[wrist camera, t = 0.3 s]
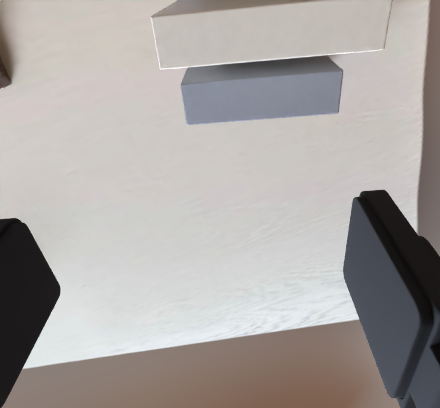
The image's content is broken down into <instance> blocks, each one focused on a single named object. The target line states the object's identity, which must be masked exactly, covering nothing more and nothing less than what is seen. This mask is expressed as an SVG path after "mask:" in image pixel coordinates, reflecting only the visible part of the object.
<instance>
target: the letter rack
mask: <svg viewBox="0 0 440 408" xmlns="http://www.w3.org/2000/svg"><path fill="white" fill-rule="evenodd" d="M10 84H11V82H10V80H9V77H8V75H7V73H6V70H5V68H4V66H3V63H2V61H1V58H0V89H2V88H4V87H6V86H8V85H10Z"/></svg>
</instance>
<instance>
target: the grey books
mask: <svg viewBox="0 0 440 408" xmlns="http://www.w3.org/2000/svg"><path fill="white" fill-rule="evenodd" d="M342 78H343V70H342V69H341V68H340V67H339V66H337V65H336V64H335V63H334V62H333V61H332V60H331V59H329V58H328V57H327V56H326V55H323V56H311V57H300V58H288V59H277V60H266V61H254V62H243V63H232V64H220V65H209V66H197V67H188V68H187V71H186V73H185V75H184V78H183V80H182V83H181V90H182V97H183V103H184V110H185V117H186V123H187V125H194V124H208V123H221V122H234V121H247V120H260V119H273V118H286V117H299V116H312V115H325V114H337V113H338V112H339V104H340V96H341V87H342Z"/></svg>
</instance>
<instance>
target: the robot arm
mask: <svg viewBox="0 0 440 408" xmlns="http://www.w3.org/2000/svg"><path fill="white" fill-rule="evenodd" d="M343 273H344V279H345V282H346V284H347V287H348V290H349V292H350V295H351V298H352V300H353V303H354V306H355V308H356V311H357V314H358V316H359V319H360V321H361V324H362V327H363V330H364V332H365V335H366V338H367V340H368V343H369V345H370V348H371V351H372V353H373V356H374V359H375V361H376V364H377V367H378V369H379V372H380V375H381V377H382V380H383V383H384V385H385V388H386V390H387V393H388V394H389V396H390V397H391V398H397V400H398V402H399V405H400V407H401V408H440V256H439V255H438V254H437V252H436V251H435V250H434V248H433V247H432V246H431V244H430V243H429V242H428V241H427V240H426V239H425V238H424V237H422V236H418V235H417V233H416V232H415V231H414V229H413V228H412V226H411V225H410V224H409V222H408V221H407V219H406V218H405V217H404V215H403V214H402V212H401V211H400V210H399V208H398V207H397V205H396V204H395V203H394V201H393V200H392V198H391V197H390V196H389V194H388V193H387V192H386V191H385V190H374V191H362V192H361V194H360V196H359V197H355V198H354V199H353V203H352V210H351V217H350V224H349V231H348V238H347V245H346V253H345V260H344V267H343ZM59 296H60V285H59V283H58V281H57V279H56V278H55V276H54V274H53V272H52V270H51V268H50V267H49V265H48V263H47V261H46V259H45V257H44V256H43V254H42V252H41V250H40V248H39V246H38V245H37V243H36V241H35V239H34V237H33V235H32V234H31V232H30V230H29V228H28V226H27V225H26V224H25V223H22V222H21V221H20V220H19V219H16V218H11V219H0V408H1V407H2V406H3V404H4V403H5V401H6V399H7V397H8V395H9V394H10V392H11V390H12V388H13V386H14V384H15V382H16V380H17V378H18V376H19V374H20V372H21V370H22V368H23V366H24V364H25V362H26V361H27V359H28V357H29V355H30V353H31V351H32V349H33V347H34V345H35V343H36V341H37V339H38V337H39V335H40V333H41V331H42V329H43V327H44V326H45V324H46V322H47V320H48V318H49V316H50V314H51V312H52V310H53V308H54V306H55V304H56V302H57V300H58V298H59Z"/></svg>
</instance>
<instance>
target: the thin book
mask: <svg viewBox="0 0 440 408" xmlns="http://www.w3.org/2000/svg"><path fill="white" fill-rule="evenodd" d="M392 1H393V0H177V1H176V2H174V3H172V4H171V5H169V6H168V7H166V8H164V9H163V10H161V11H159V12H158V13H156V14H154V15H153V16H151V22H152V28H153V33H154V39H155V44H156V50H157V56H158V61H159V67H160V69H162V70H163V69H175V68H186V67H197V66H209V65H220V64H232V63H243V62H254V61H266V60H277V59H288V58H300V57H311V56H323V55H334V54H345V53H357V52H368V51H379V50H384V47H385V41H386V35H387V30H388V24H389V18H390V12H391V7H392Z"/></svg>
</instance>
